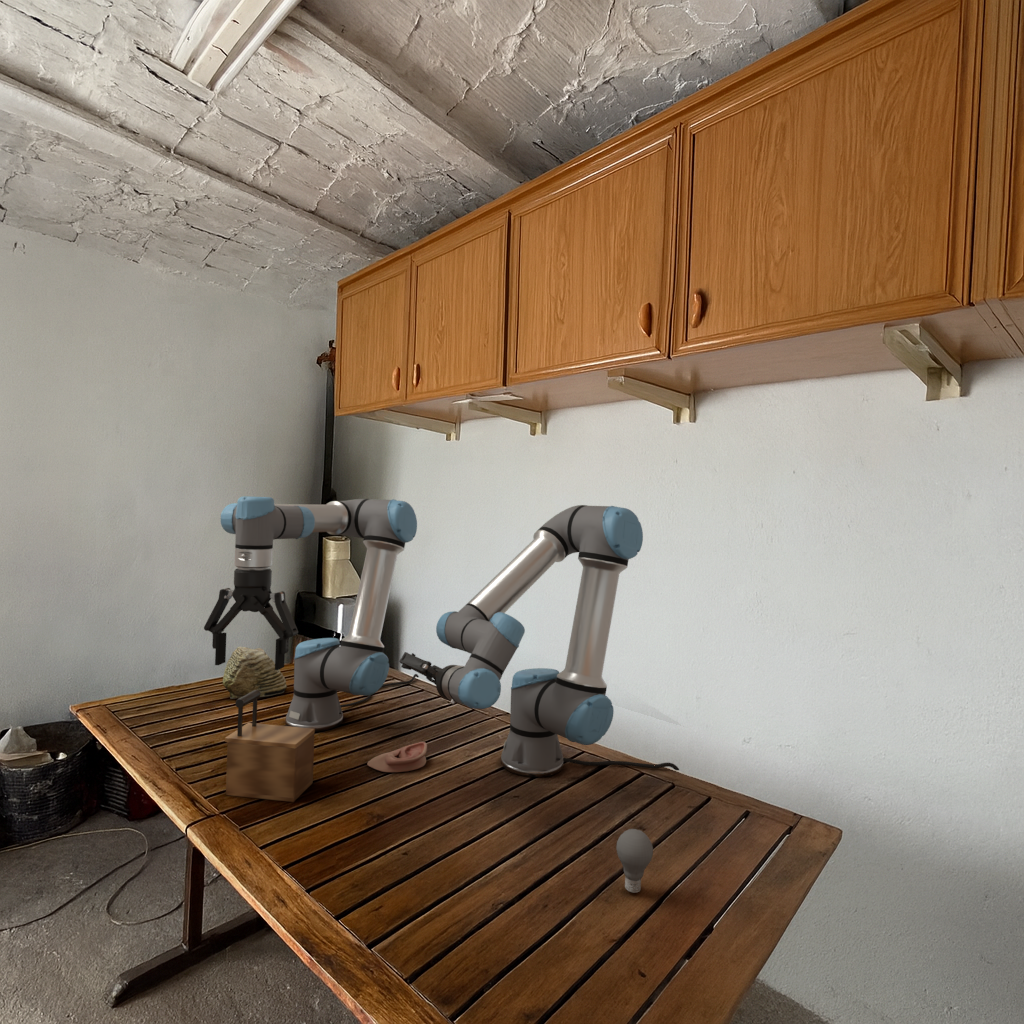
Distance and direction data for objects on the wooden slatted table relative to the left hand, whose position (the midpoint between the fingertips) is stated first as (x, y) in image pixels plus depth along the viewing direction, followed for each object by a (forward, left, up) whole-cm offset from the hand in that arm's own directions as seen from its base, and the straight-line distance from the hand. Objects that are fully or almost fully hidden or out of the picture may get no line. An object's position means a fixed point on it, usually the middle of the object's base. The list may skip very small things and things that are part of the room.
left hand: (249, 666), depth 137 cm
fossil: (-33, -56, -26) cm, 70 cm away
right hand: (-36, +18, -5) cm, 40 cm away
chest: (-3, +5, -26) cm, 27 cm away
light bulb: (-24, +81, -26) cm, 88 cm away
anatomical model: (-30, +14, -26) cm, 43 cm away
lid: (-3, +5, -15) cm, 16 cm away
